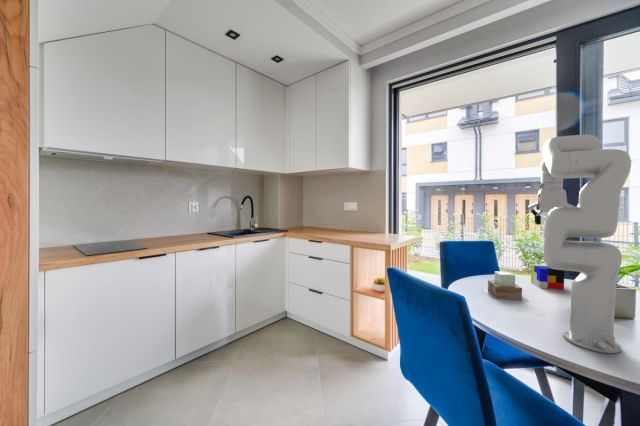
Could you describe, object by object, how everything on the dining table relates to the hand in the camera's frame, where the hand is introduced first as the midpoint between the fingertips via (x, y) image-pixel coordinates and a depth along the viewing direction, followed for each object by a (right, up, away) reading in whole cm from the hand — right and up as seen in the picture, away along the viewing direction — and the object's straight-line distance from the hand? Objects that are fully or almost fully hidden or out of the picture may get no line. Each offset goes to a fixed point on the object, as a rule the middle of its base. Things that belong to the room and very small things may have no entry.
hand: (550, 224), depth 122 cm
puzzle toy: (+13, -33, +17) cm, 39 cm away
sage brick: (-21, -27, +1) cm, 34 cm away
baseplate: (-21, -34, +1) cm, 39 cm away
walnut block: (-21, -32, +1) cm, 38 cm away
